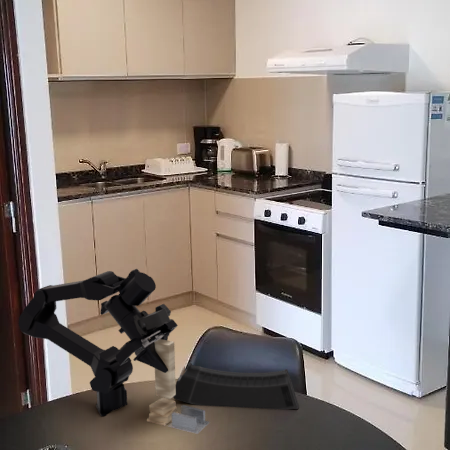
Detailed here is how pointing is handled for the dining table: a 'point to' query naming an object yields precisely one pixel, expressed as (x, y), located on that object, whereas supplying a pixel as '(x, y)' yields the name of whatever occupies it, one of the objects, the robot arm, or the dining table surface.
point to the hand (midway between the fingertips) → (170, 369)
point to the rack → (189, 419)
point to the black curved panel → (235, 389)
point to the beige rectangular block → (167, 380)
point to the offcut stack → (162, 411)
